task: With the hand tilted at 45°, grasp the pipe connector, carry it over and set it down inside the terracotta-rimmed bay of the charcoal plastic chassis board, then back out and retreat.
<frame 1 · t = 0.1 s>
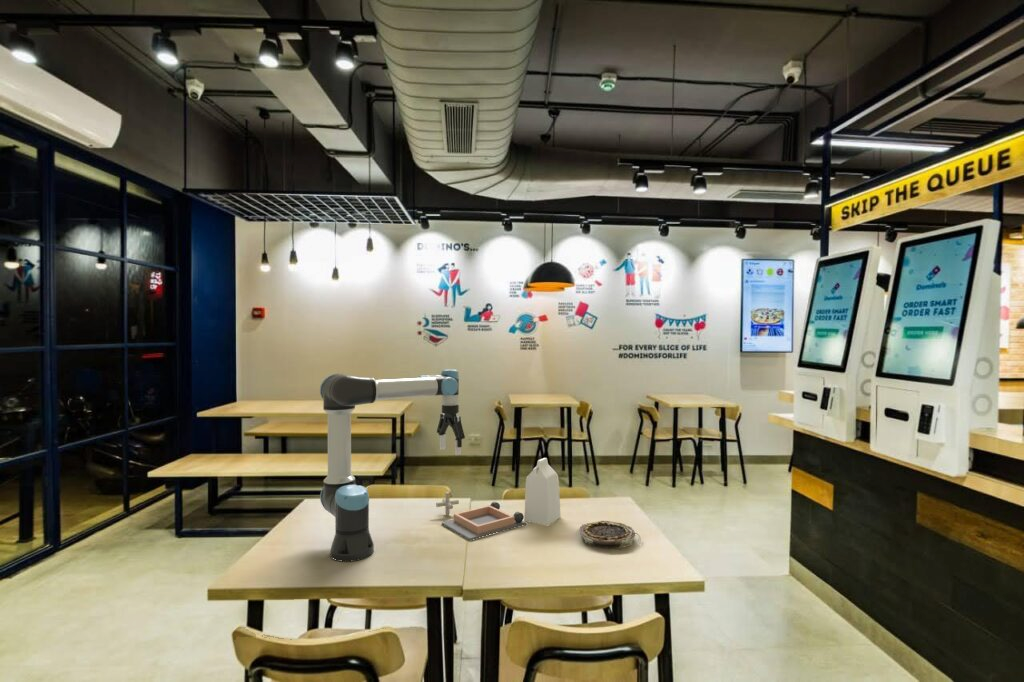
hand: (450, 452, 225), 28 cm above the table, tool pointing down, fingers open, 13 cm apart
milk: (542, 519, 219), on the table
pipe connector: (447, 515, 225), on the table
chassis: (483, 524, 212), on the table
pie: (606, 541, 197), on the table
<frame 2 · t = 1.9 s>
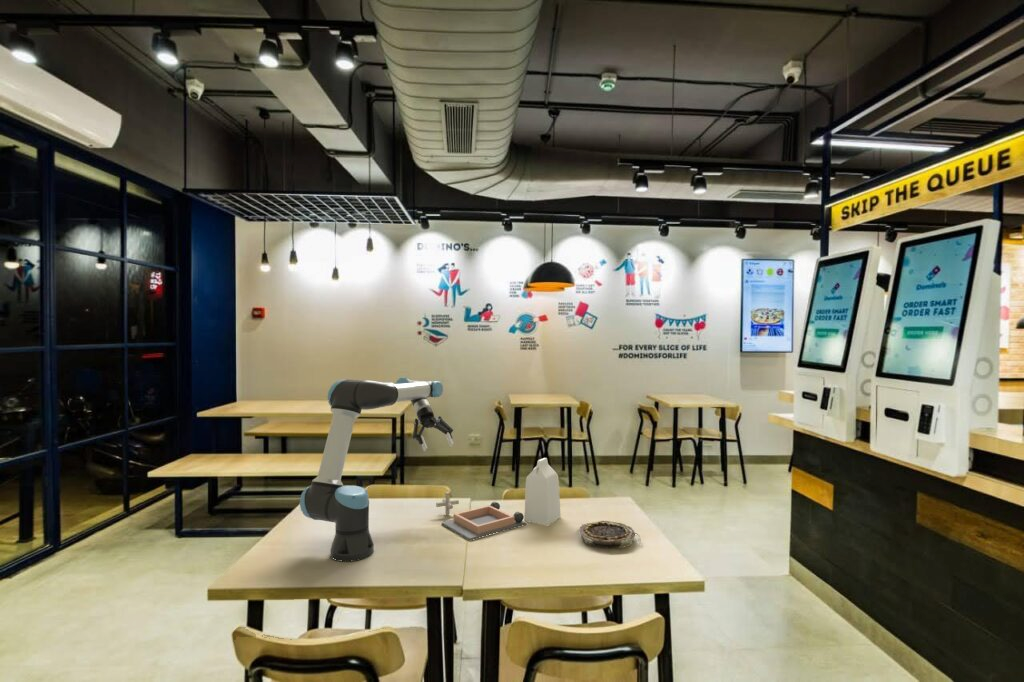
hand: (439, 447, 231), 29 cm above the table, tool tilted 45°, fingers open, 13 cm apart
nothing on the table moved.
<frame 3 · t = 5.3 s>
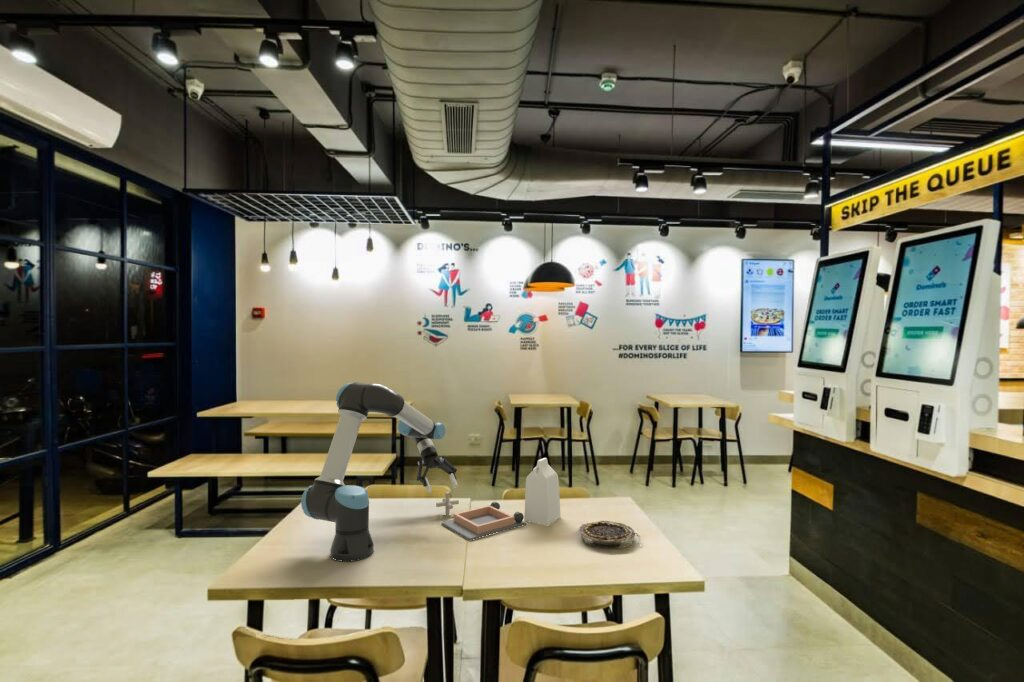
hand: (443, 489, 230), 10 cm above the table, tool tilted 45°, fingers open, 13 cm apart
nothing on the table moved.
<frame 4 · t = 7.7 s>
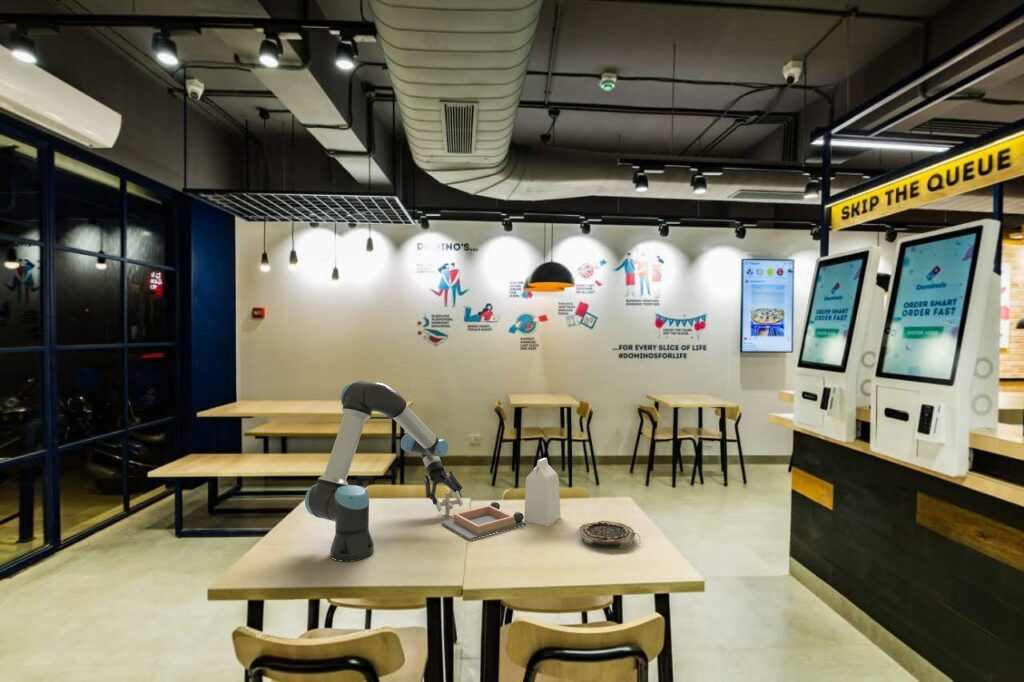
hand: (450, 507, 222), 4 cm above the table, tool tilted 45°, fingers closed on pipe connector, 10 cm apart
pipe connector: (447, 515, 225), on the table, touching gripper
everything else where it was.
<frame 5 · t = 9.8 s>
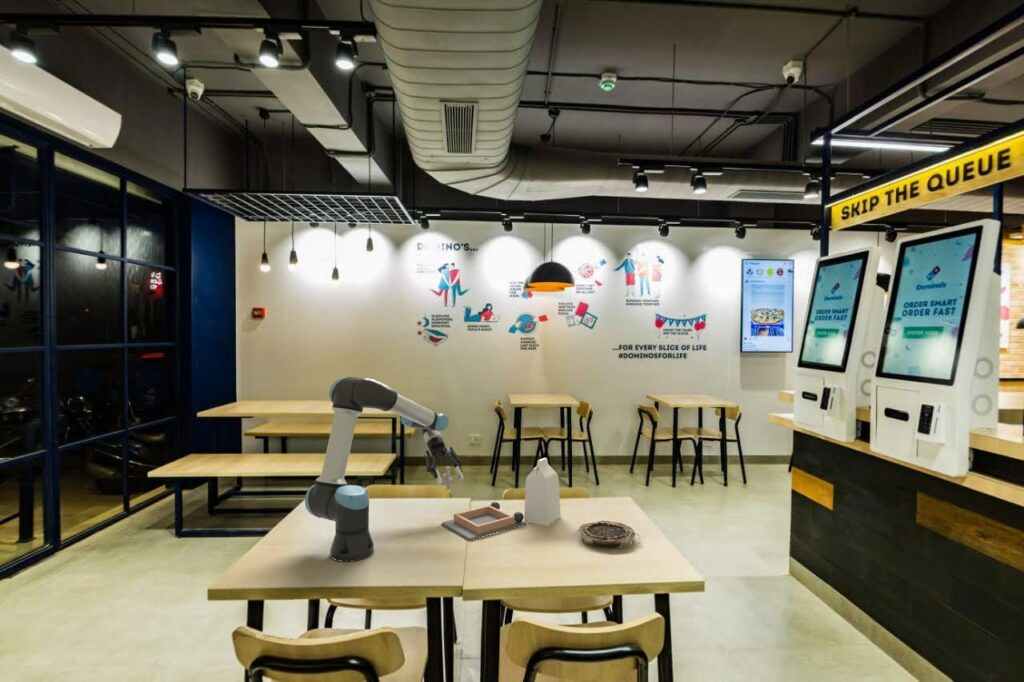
hand: (451, 481, 222), 15 cm above the table, tool tilted 45°, fingers closed on pipe connector, 10 cm apart
pipe connector: (448, 489, 225), point 11 cm above the table, touching gripper
everything else where it was.
when the fingers open (6 cm above the table, at t = 14.2 s): pipe connector drops 1 cm, resting on chassis.
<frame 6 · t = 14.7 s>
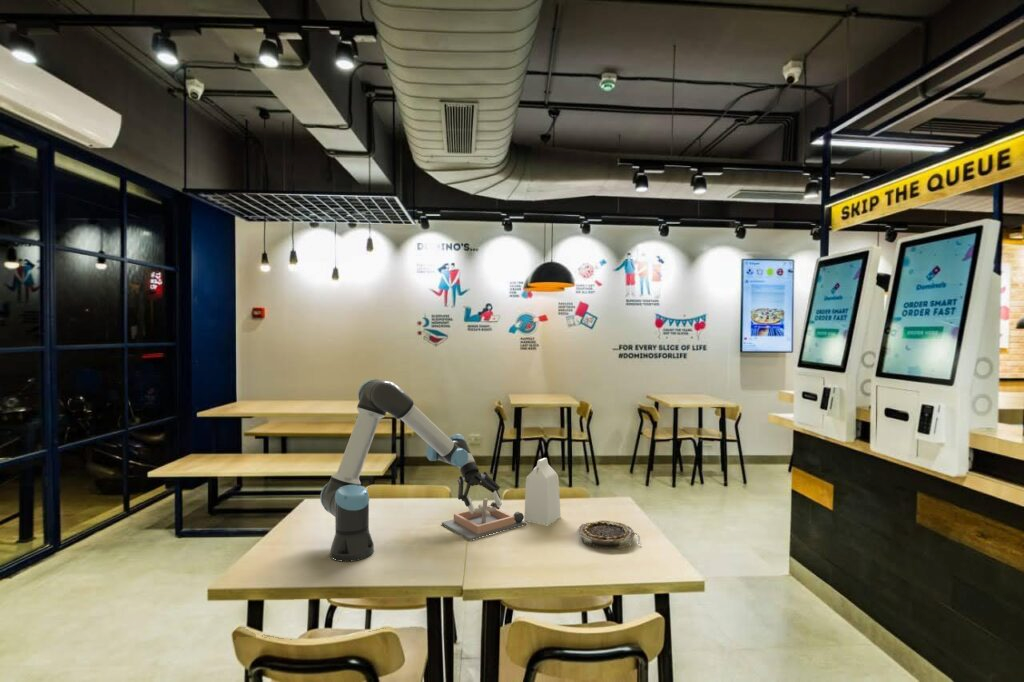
hand: (486, 509, 211), 7 cm above the table, tool tilted 45°, fingers open, 13 cm apart
pipe connector: (483, 522, 212), point 1 cm above the table, touching chassis
everything else where it was.
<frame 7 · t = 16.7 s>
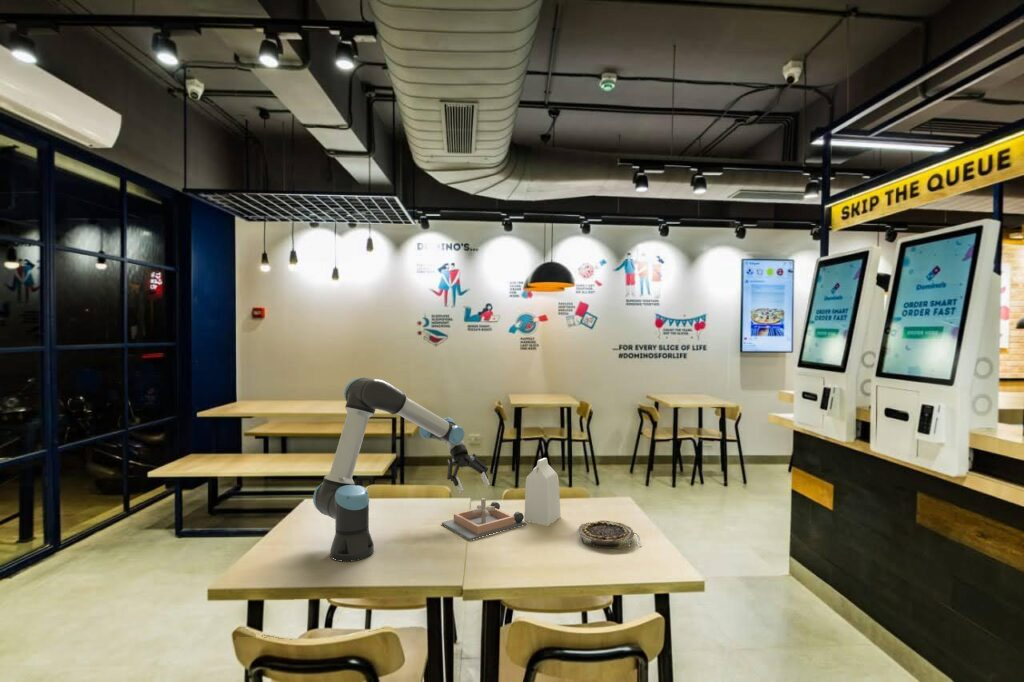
hand: (475, 489, 218), 13 cm above the table, tool tilted 45°, fingers open, 13 cm apart
nothing on the table moved.
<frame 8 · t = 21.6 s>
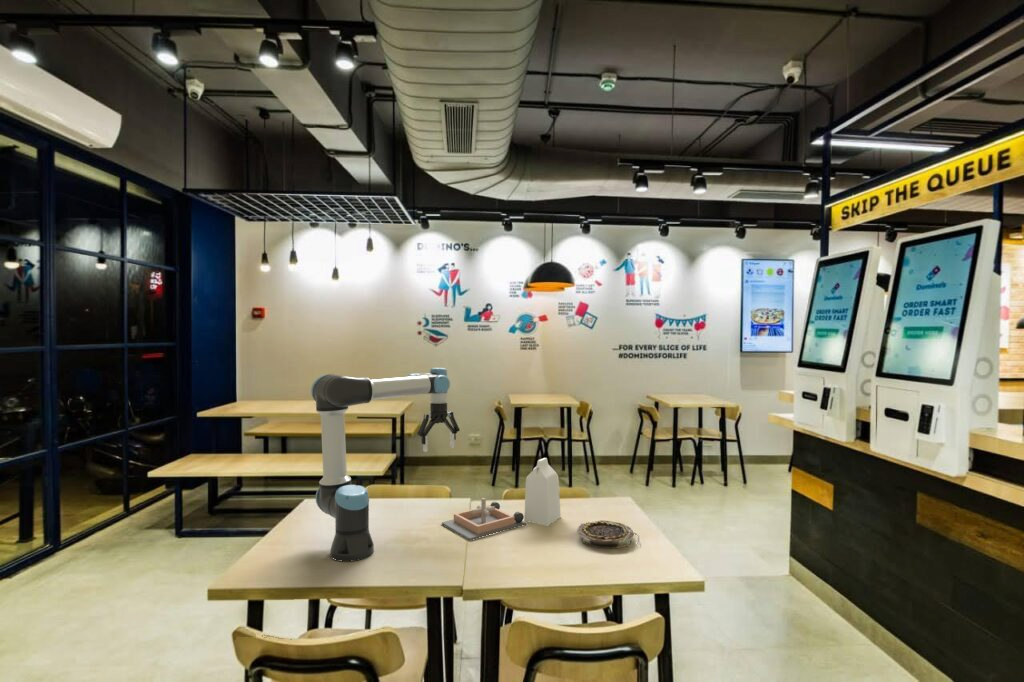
hand: (438, 449, 227), 29 cm above the table, tool pointing down, fingers open, 13 cm apart
nothing on the table moved.
at the end: pipe connector inside the target area on the chassis (0.1 cm from its centre), point 0.8 cm above the chassis's base; pipe connector tilted 0°; the gripper is holding nothing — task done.
